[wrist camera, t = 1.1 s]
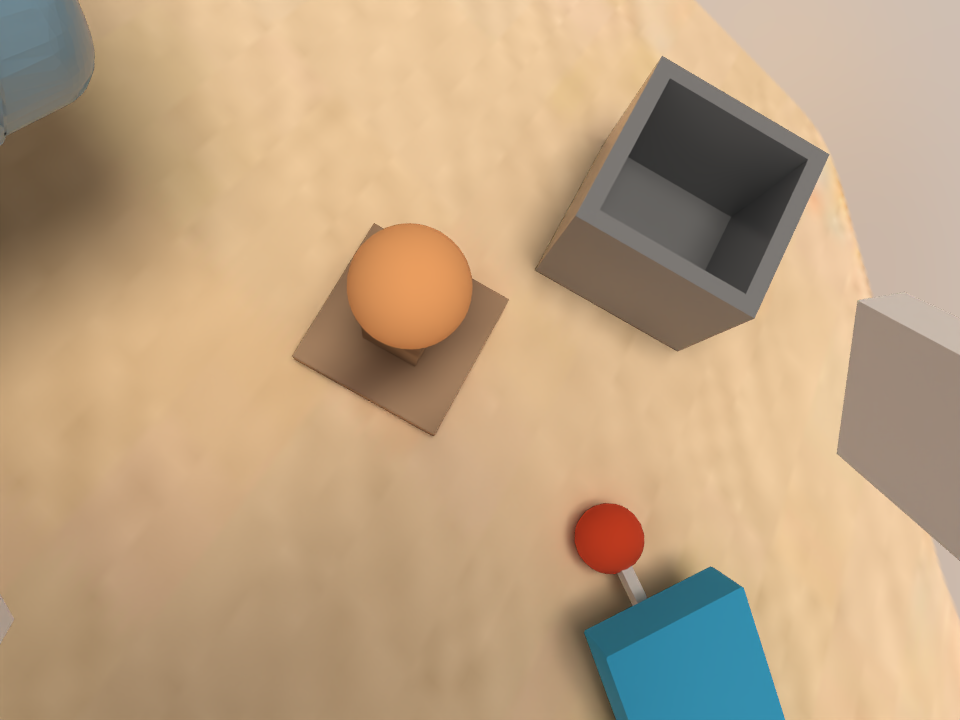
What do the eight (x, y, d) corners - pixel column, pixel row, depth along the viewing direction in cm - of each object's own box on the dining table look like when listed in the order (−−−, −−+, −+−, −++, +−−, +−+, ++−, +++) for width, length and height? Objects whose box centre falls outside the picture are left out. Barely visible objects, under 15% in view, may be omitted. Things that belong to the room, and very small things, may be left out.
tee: (294, 359, 35) (277, 335, 29) (374, 229, 37) (373, 182, 31) (433, 435, 35) (443, 427, 30) (505, 304, 37) (529, 271, 31)
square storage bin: (534, 270, 38) (575, 215, 30) (606, 139, 40) (662, 56, 32) (677, 351, 38) (754, 318, 30) (741, 217, 40) (829, 154, 32)
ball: (327, 322, 30) (317, 292, 25) (385, 227, 31) (387, 179, 26) (430, 380, 30) (439, 360, 25) (484, 283, 31) (504, 246, 26)
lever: (736, 754, 40) (642, 471, 37) (825, 849, 33) (719, 511, 30) (632, 814, 38) (525, 525, 35) (702, 925, 32) (577, 581, 28)
